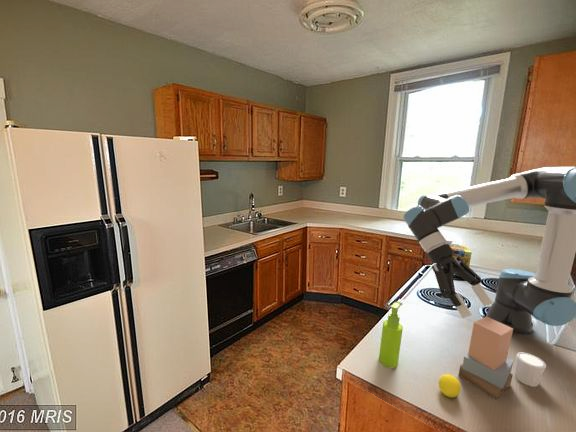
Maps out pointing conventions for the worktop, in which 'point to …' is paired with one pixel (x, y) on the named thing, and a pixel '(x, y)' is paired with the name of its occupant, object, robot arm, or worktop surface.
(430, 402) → the worktop surface
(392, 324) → the soap dispenser
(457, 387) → the lemon
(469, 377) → the tower base block
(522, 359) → the white cylinder
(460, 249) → the protein box
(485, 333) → the terracotta block
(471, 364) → the tower top block
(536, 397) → the worktop surface
